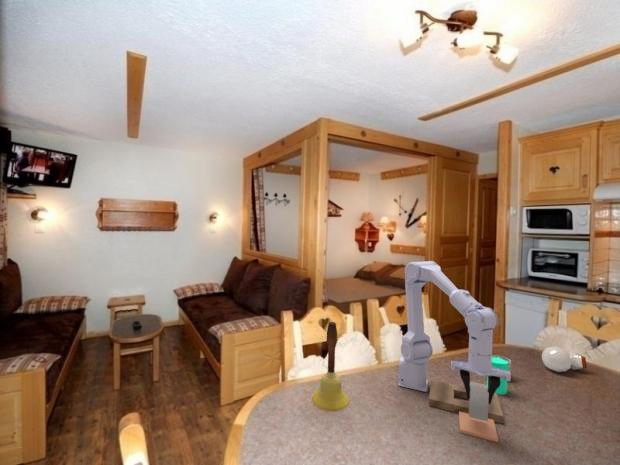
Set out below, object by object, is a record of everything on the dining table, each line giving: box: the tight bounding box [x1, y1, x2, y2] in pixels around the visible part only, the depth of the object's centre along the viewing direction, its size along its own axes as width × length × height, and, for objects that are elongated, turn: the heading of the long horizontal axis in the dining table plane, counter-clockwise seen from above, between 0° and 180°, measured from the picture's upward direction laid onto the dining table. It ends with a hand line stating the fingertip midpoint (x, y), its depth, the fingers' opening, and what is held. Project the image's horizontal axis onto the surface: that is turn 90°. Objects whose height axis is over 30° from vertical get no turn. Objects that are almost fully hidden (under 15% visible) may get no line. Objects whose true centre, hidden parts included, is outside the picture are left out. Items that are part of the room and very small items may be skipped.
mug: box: [492, 354, 512, 381], centre depth 117 cm, size 10×7×7 cm, turn 58°
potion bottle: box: [541, 345, 588, 373], centre depth 122 cm, size 9×10×15 cm
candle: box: [486, 357, 508, 396], centre depth 106 cm, size 6×6×12 cm
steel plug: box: [467, 380, 489, 421], centre depth 86 cm, size 4×4×8 cm
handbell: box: [311, 321, 351, 412], centre depth 98 cm, size 12×12×25 cm
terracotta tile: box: [458, 411, 499, 443], centre depth 86 cm, size 9×9×1 cm
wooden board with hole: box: [428, 379, 505, 425], centre depth 98 cm, size 20×13×2 cm, turn 66°
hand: (478, 399), depth 86 cm, fingers closed on steel plug, 4 cm apart
